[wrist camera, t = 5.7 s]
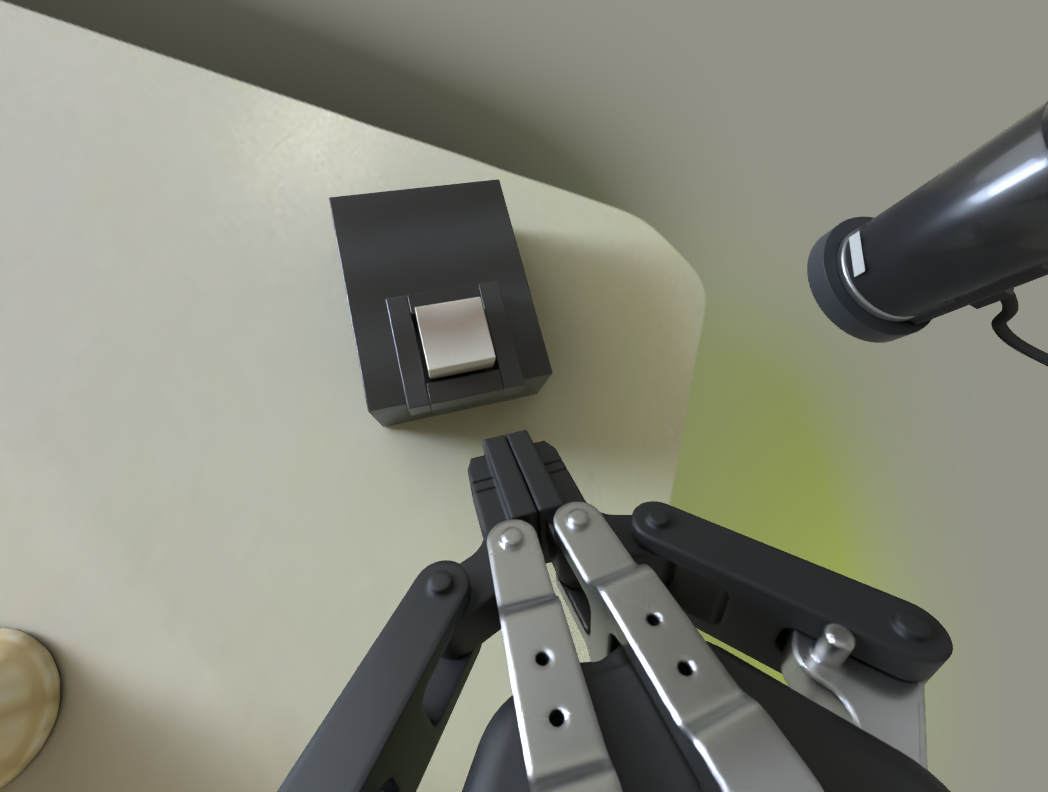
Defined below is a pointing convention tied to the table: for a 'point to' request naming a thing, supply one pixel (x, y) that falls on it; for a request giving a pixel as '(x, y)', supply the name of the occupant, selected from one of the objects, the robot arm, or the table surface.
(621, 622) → the robot arm
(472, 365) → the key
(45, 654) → the hand bell
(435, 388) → the black square panel
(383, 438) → the table surface
